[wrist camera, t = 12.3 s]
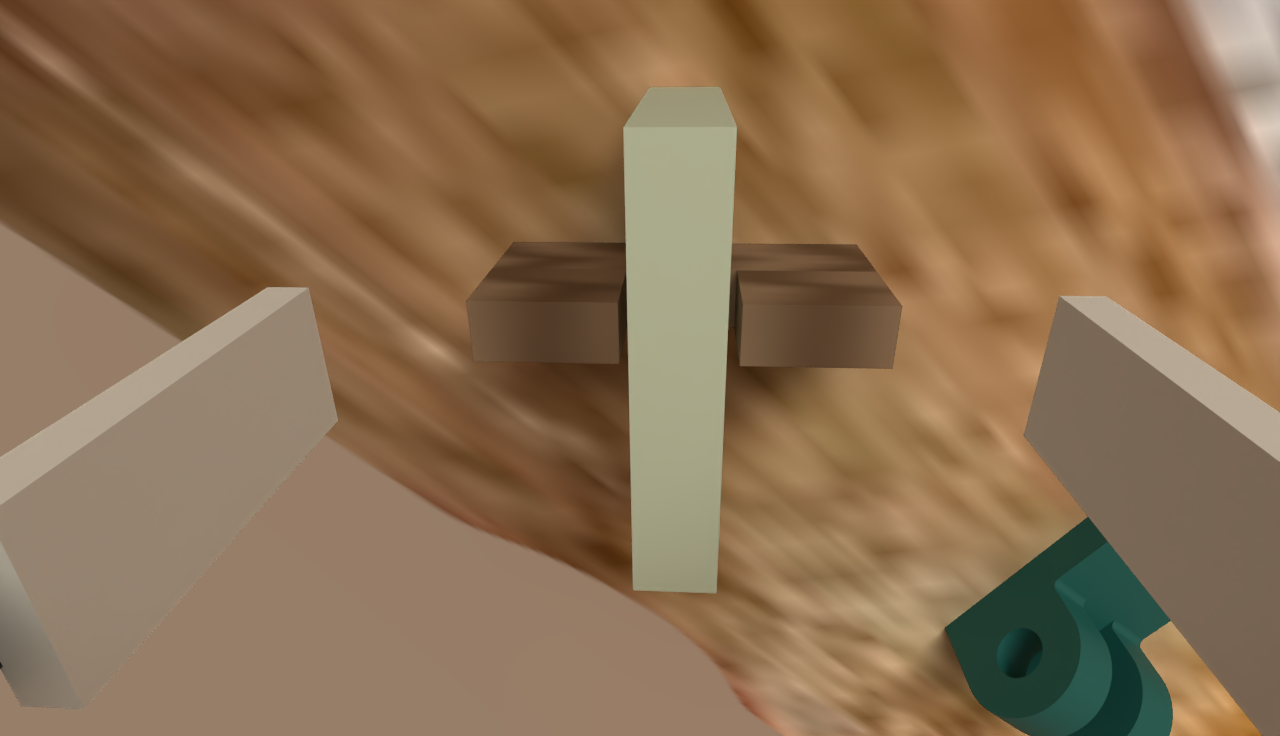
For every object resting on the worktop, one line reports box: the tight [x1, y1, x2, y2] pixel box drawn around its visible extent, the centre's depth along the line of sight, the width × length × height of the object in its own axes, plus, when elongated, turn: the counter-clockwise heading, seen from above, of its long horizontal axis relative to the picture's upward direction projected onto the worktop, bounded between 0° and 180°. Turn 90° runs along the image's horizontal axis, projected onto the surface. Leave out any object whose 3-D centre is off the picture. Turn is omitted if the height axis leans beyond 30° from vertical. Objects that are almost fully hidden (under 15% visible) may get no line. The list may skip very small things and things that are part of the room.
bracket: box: [945, 517, 1173, 736], centre depth 37 cm, size 18×7×8 cm, turn 144°
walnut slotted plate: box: [466, 242, 902, 369], centre depth 31 cm, size 16×2×8 cm, turn 91°
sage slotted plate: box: [623, 87, 737, 593], centre depth 28 cm, size 16×3×13 cm, turn 1°
